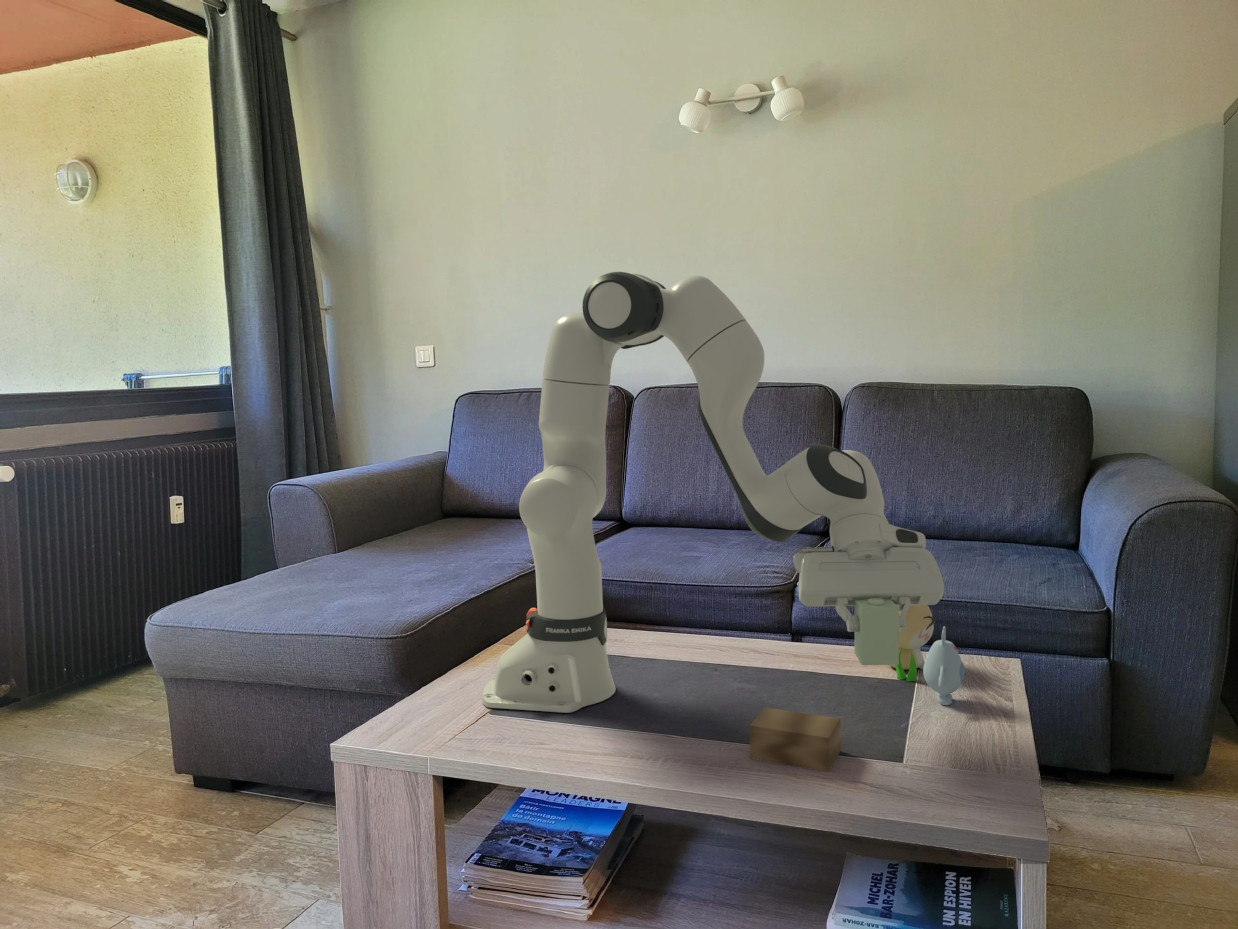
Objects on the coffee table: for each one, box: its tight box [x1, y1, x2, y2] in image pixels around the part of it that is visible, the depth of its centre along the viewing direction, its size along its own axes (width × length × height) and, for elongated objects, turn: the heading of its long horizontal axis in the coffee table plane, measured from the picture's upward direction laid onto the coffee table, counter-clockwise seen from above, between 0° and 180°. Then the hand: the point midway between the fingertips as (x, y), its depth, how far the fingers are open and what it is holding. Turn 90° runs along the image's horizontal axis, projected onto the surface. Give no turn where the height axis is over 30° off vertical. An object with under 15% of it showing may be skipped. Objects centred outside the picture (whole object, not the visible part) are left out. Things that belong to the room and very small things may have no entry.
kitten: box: [889, 605, 936, 682], centre depth 156 cm, size 15×10×15 cm
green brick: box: [853, 598, 899, 666], centre depth 124 cm, size 5×5×8 cm
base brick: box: [748, 706, 842, 773], centre depth 123 cm, size 11×7×5 cm, turn 63°
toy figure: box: [922, 625, 966, 706], centre depth 140 cm, size 11×6×12 cm, turn 156°
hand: (877, 629), depth 123 cm, fingers closed on green brick, 5 cm apart
